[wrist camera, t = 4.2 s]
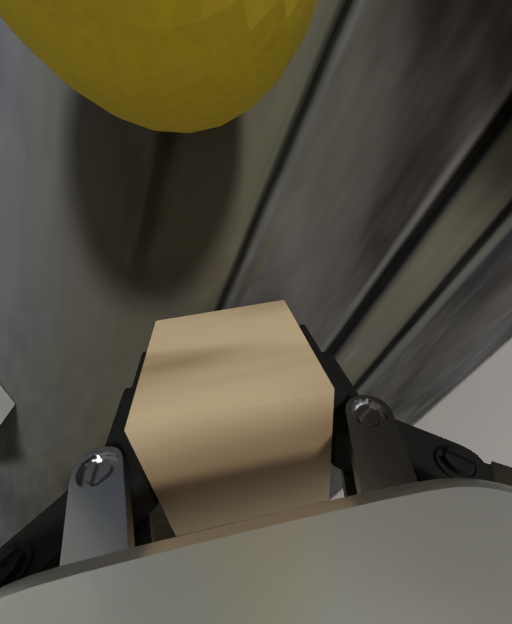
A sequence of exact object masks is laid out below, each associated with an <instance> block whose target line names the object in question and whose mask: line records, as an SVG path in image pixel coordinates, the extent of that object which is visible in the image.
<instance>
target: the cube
mask: <svg viewBox="0 0 512 624" xmlns="http://www.w3.org/2000/svg"><path fill="white" fill-rule="evenodd" d="M333 408H334V387H333V385H332V384H331V382H330V380H329V378H328V377H327V375H326V373H325V371H324V370H323V368H322V366H321V364H320V363H319V361H318V359H317V357H316V356H315V354H314V352H313V350H312V348H311V347H310V345H309V343H308V341H307V340H306V338H305V336H304V334H303V333H302V331H301V329H300V327H299V326H298V324H297V322H296V320H295V319H294V317H293V315H292V313H291V311H290V310H289V308H288V306H287V304H286V303H285V301H284V300H280V301H274V302H268V303H262V304H256V305H250V306H244V307H238V308H232V309H226V310H219V311H213V312H207V313H201V314H195V315H189V316H183V317H177V318H171V319H165V320H159V321H156V322H155V326H154V329H153V333H152V336H151V340H150V343H149V347H148V350H147V353H146V357H145V360H144V364H143V367H142V371H141V374H140V378H139V381H138V385H137V388H136V392H135V395H134V398H133V402H132V405H131V409H130V412H129V416H128V419H127V423H126V426H125V430H124V431H125V433H126V435H127V437H128V439H129V441H130V443H131V445H132V447H133V449H134V451H135V453H136V456H137V458H138V460H139V462H140V464H141V466H142V468H143V470H144V472H145V474H146V476H147V478H148V480H149V482H150V484H151V486H152V488H153V490H154V492H155V494H156V496H157V498H158V501H159V503H160V505H161V507H162V509H163V511H164V513H165V515H166V517H167V519H168V521H169V523H170V525H171V527H172V529H173V531H174V533H175V535H176V536H179V535H184V534H188V533H192V532H196V531H201V530H205V529H209V528H213V527H218V526H222V525H226V524H230V523H234V522H239V521H243V520H247V519H251V518H256V517H260V516H264V515H268V514H273V513H277V512H281V511H285V510H290V509H294V508H298V507H302V506H307V505H311V504H315V503H319V502H324V501H328V500H329V488H330V468H331V448H332V428H333Z"/></svg>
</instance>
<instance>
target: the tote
mask: <svg viewBox="0 0 512 624" xmlns="http://www.w3.org/2000/svg"><path fill="white" fill-rule="evenodd" d="M14 405H15V403H14V402H13V400H12V399H11V398H10V397H9V395H8V394H7V393H6V392H5V390H4V389H3V388H2V386H1V385H0V425H1V423H2V422H3V420H4V419H5V418H6V416H7V415H8V413H9V412H10V411H11V409H12V408H13V406H14Z"/></svg>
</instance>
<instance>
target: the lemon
mask: <svg viewBox="0 0 512 624" xmlns="http://www.w3.org/2000/svg"><path fill="white" fill-rule="evenodd" d="M317 1H318V0H0V16H1V17H2V19H3V20H4V21H5V22H6V24H7V25H8V26H9V27H10V29H11V30H12V31H13V32H14V33H15V34H16V35H17V37H18V38H19V39H20V40H21V41H22V42H23V43H24V44H25V45H26V46H27V47H28V48H29V49H31V50H32V51H33V52H34V53H35V54H36V55H37V56H38V57H39V58H40V59H41V60H42V61H43V62H44V63H45V64H46V65H47V66H48V67H49V68H50V69H52V70H53V71H54V72H55V73H56V74H57V75H58V76H59V77H60V78H61V79H62V80H63V81H64V82H65V83H66V84H67V85H69V86H70V87H71V88H72V89H73V90H75V91H77V92H78V93H80V94H81V95H83V96H84V97H86V98H87V99H89V100H91V101H92V102H94V103H95V104H97V105H98V106H100V107H101V108H103V109H105V110H106V111H108V112H109V113H111V114H112V115H114V116H116V117H118V118H120V119H123V120H126V121H129V122H131V123H134V124H137V125H140V126H142V127H145V128H148V129H151V130H154V131H165V132H179V133H192V132H197V131H202V130H206V129H211V128H215V127H220V126H222V125H224V124H225V123H227V122H229V121H231V120H233V119H234V118H236V117H238V116H240V115H241V114H243V113H245V112H247V111H248V110H250V109H251V108H252V107H253V106H254V105H255V104H256V103H257V102H258V101H259V100H260V99H261V98H262V97H263V96H264V95H265V94H266V93H267V92H268V91H269V90H270V89H271V88H272V87H273V86H274V85H275V84H276V82H277V81H278V80H279V79H280V77H281V75H282V74H283V72H284V70H285V69H286V67H287V65H288V64H289V62H290V60H291V59H292V57H293V55H294V53H295V52H296V50H297V48H298V47H299V45H300V43H301V42H302V40H303V38H304V36H305V34H306V32H307V29H308V26H309V24H310V21H311V18H312V15H313V12H314V9H315V7H316V4H317Z"/></svg>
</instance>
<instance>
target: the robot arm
mask: <svg viewBox="0 0 512 624" xmlns="http://www.w3.org/2000/svg"><path fill="white" fill-rule="evenodd" d="M298 326H299V327H300V329H301V331H302V333H303V334H304V336H305V338H306V340H307V341H308V343H309V345H310V347H311V348H312V350H313V352H314V354H315V356H316V357H317V359H318V361H319V363H320V364H321V366H322V368H323V370H324V371H325V373H326V375H327V377H328V378H329V380H330V382H331V384H332V385H333V387H334V408H333V428H332V448H331V463H332V464H333V465H334V466H335V467H337V468H339V469H341V476H342V483H343V490H344V498H340V499H335V500H331V501H326V502H322V503H318V504H313V505H309V506H305V507H300V508H296V509H292V510H287V511H283V512H279V513H275V514H270V515H266V516H262V517H258V518H253V519H249V520H245V521H241V522H237V523H232V524H228V525H224V526H220V527H215V528H211V529H207V530H203V531H199V532H194V533H190V534H186V535H182V536H178V537H174V538H170V539H165V540H161V541H157V542H156V538H155V530H154V523H153V516H152V510H153V509H154V508H155V507H156V506H157V505H158V502H159V501H158V498H157V496H156V494H155V492H154V490H153V488H152V486H151V484H150V482H149V480H148V478H147V476H146V474H145V472H144V470H143V468H142V466H141V464H140V462H139V460H138V458H137V456H136V453H135V451H134V449H133V447H132V445H131V443H130V441H129V439H128V437H127V435H126V433H125V431H124V430H125V426H126V423H127V419H128V416H129V412H130V409H131V405H132V402H133V398H134V395H135V392H136V388H137V385H138V381H139V378H140V374H141V371H142V367H143V364H144V360H145V357H146V353H147V352H143V353H142V356H141V359H140V363H139V366H138V369H137V372H136V376H135V379H134V382H133V385H132V387H131V388H126V389H125V390H124V392H123V395H122V398H121V401H120V404H119V407H118V410H117V413H116V416H115V419H114V422H113V425H112V428H111V431H110V434H109V436H108V439H107V442H106V445H105V447H102V448H98V449H96V450H94V451H92V452H90V453H89V454H87V455H86V456H85V457H84V458H82V459H81V460H80V462H79V463H78V464H77V465H76V466H75V468H74V470H73V471H72V473H71V476H70V480H69V488H68V491H67V492H65V493H64V494H63V495H62V496H61V497H59V498H58V499H57V500H56V501H55V502H54V503H52V504H51V505H50V506H49V507H48V508H47V509H45V510H44V511H43V512H42V513H41V514H39V515H38V516H37V517H36V518H35V519H34V520H32V521H31V522H30V523H29V524H28V525H27V526H25V527H24V528H23V529H22V530H21V531H20V532H18V533H17V534H16V535H15V536H14V537H12V538H11V539H10V540H9V541H8V542H7V543H5V544H4V545H3V546H2V547H1V548H0V624H512V468H511V467H508V466H505V465H502V464H499V463H496V462H493V461H492V463H491V464H486V463H484V462H483V461H482V460H481V459H480V458H479V457H478V455H476V454H475V453H473V452H472V451H471V450H469V449H467V448H465V447H463V446H461V445H459V444H457V443H454V442H452V441H449V440H447V439H444V438H441V437H439V436H436V435H434V434H431V433H429V432H426V431H424V430H421V429H419V428H416V427H414V426H411V425H409V424H406V423H403V422H401V421H398V420H396V419H395V418H394V415H393V413H392V411H391V409H390V407H389V406H388V405H387V404H386V403H385V402H383V401H382V400H380V399H378V398H376V397H373V396H368V395H358V393H357V392H356V390H355V389H354V387H353V386H352V384H351V383H350V381H349V380H348V378H347V377H346V375H345V373H344V372H343V370H342V369H341V367H340V366H339V364H338V363H337V361H336V360H335V358H334V357H333V355H332V354H331V353H330V352H329V351H327V352H321V351H320V349H319V347H318V346H317V344H316V342H315V341H314V339H313V337H312V336H311V334H310V333H309V331H308V329H307V328H306V326H305V325H304V324H303V325H298Z"/></svg>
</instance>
